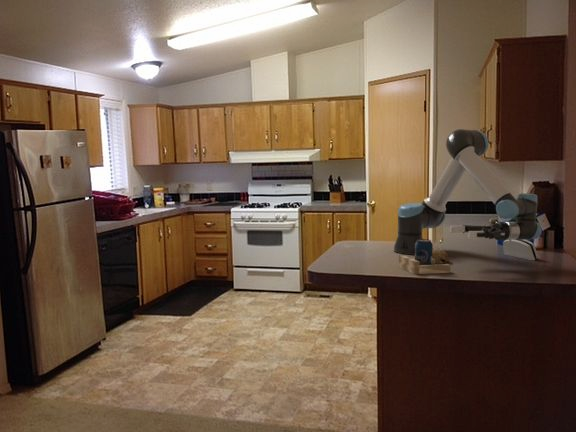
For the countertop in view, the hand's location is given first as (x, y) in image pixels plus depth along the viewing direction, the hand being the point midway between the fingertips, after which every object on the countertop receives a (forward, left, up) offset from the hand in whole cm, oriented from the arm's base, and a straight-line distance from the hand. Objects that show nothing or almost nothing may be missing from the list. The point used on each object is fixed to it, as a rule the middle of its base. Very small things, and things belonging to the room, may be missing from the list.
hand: (459, 231), depth 205 cm
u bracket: (-1, -15, -15) cm, 21 cm away
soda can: (-2, -15, -15) cm, 21 cm away
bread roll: (-16, -1, -16) cm, 22 cm away
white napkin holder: (-16, +42, -16) cm, 47 cm away
